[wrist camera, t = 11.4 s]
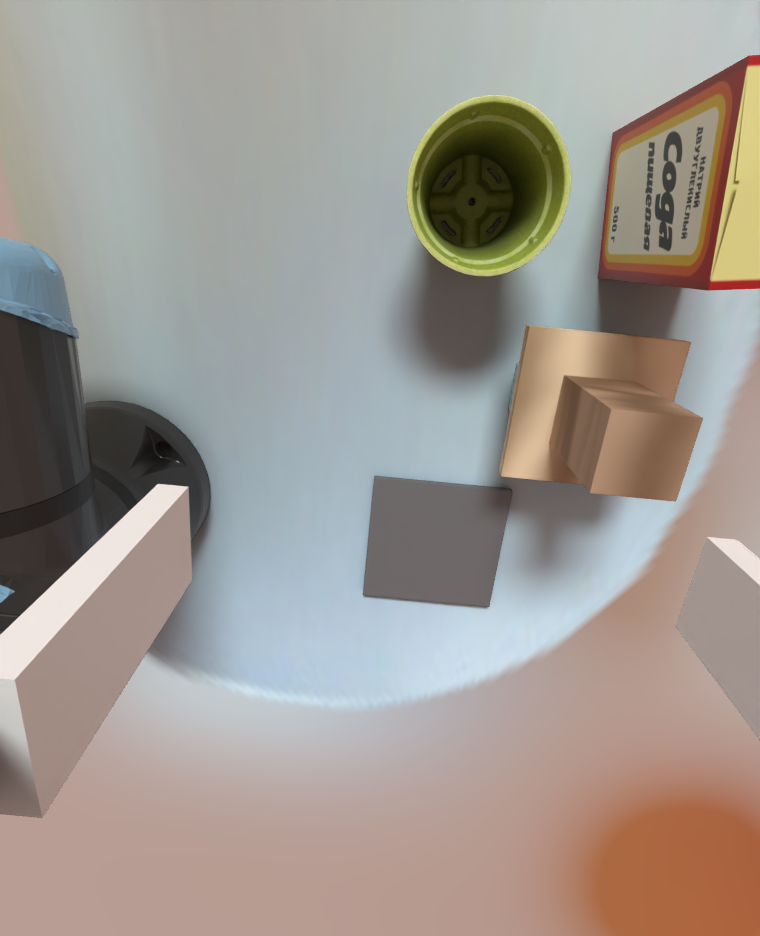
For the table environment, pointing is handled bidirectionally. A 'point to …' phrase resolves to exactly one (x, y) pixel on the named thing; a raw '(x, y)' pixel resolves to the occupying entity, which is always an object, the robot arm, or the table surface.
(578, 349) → the lid
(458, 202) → the plant pot
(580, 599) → the table surface
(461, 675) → the table surface
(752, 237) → the baking soda box
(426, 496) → the mat
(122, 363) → the table surface
